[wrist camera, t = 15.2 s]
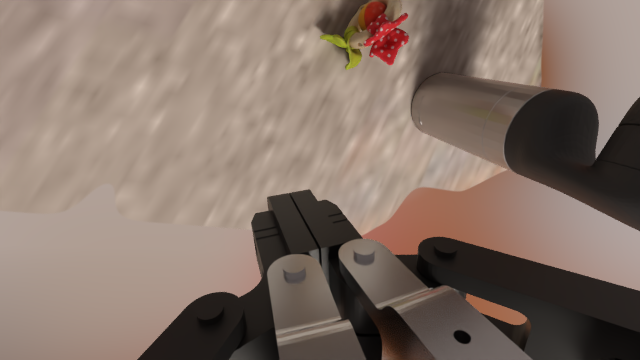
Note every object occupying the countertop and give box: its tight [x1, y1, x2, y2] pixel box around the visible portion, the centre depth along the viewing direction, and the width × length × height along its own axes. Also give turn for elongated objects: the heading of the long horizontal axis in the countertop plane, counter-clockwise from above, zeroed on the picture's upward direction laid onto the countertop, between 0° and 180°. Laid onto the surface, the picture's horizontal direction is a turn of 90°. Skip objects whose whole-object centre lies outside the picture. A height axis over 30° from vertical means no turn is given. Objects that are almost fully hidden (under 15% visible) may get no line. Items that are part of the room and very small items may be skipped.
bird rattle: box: [320, 0, 409, 70], centre depth 37 cm, size 6×11×9 cm
